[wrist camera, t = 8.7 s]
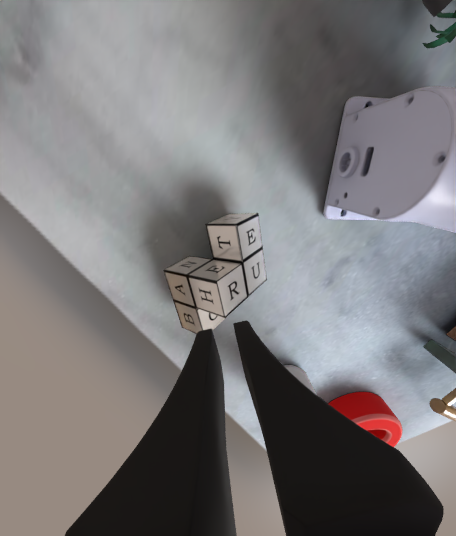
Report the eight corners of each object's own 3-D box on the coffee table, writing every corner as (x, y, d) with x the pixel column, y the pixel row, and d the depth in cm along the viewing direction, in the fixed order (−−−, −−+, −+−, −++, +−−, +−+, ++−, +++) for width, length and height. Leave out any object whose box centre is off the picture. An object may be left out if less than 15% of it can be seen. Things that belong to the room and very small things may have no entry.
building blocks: (232, 349, 15) (206, 238, 12) (182, 327, 19) (151, 235, 16) (270, 307, 19) (258, 212, 16) (222, 295, 22) (204, 214, 19)
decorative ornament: (340, 385, 27) (356, 411, 24) (399, 399, 29) (420, 424, 26) (300, 434, 30) (311, 462, 27) (356, 443, 33) (371, 470, 30)
